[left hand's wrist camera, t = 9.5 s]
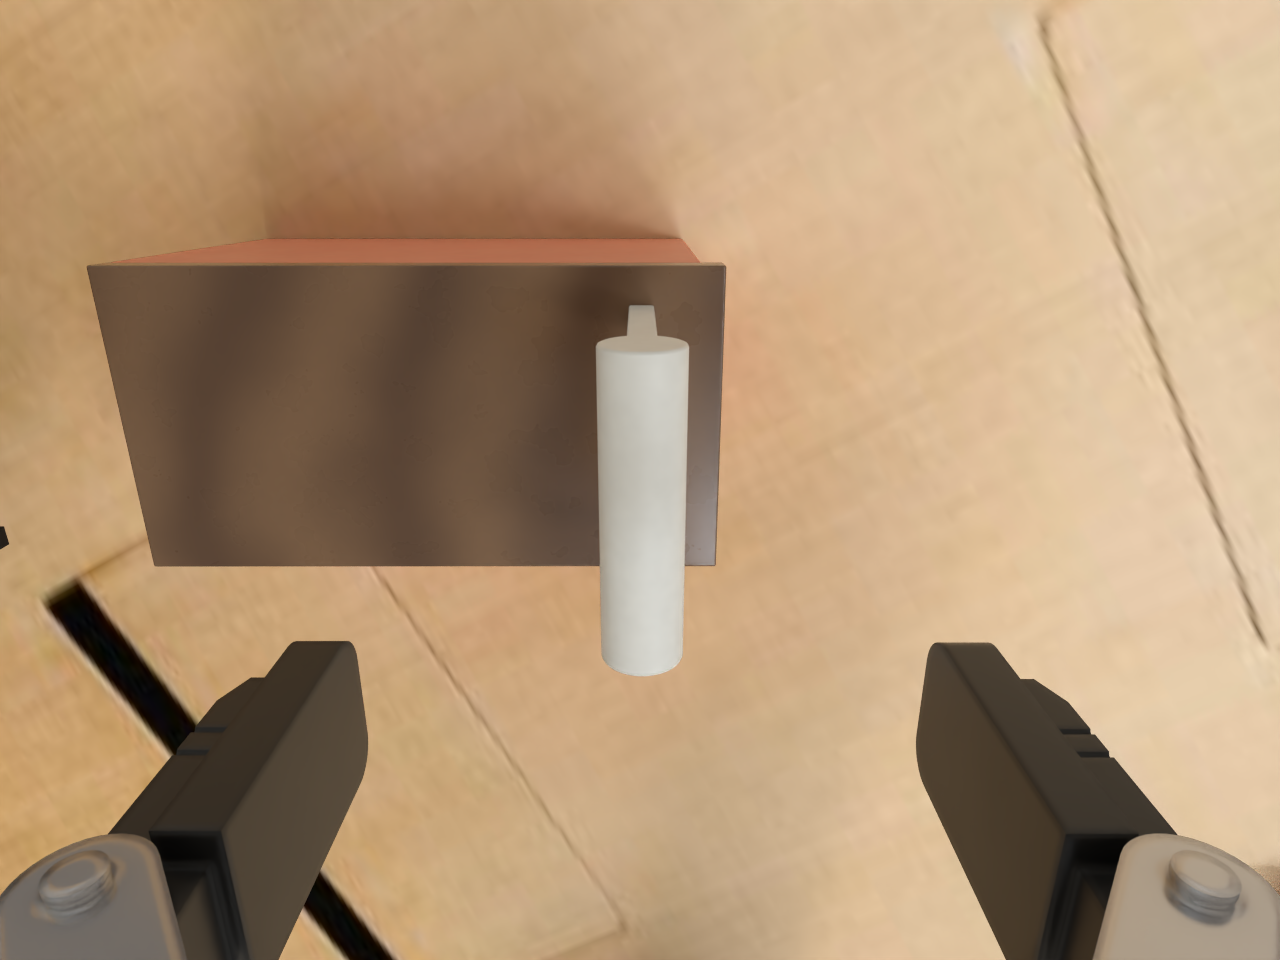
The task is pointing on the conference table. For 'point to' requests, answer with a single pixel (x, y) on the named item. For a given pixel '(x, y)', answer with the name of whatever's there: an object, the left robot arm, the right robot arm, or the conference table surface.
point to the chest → (436, 251)
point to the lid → (430, 420)
